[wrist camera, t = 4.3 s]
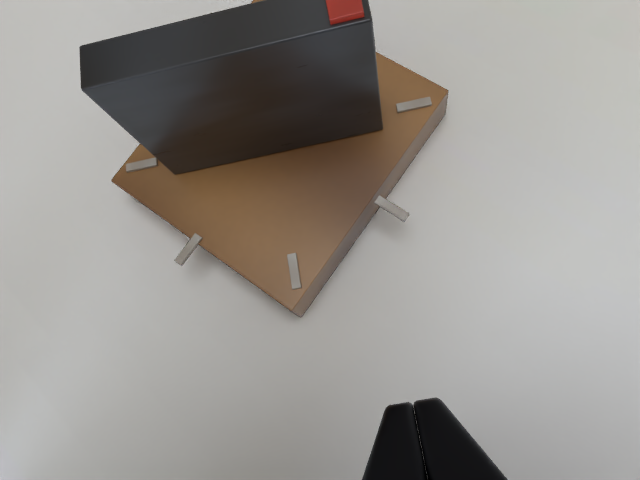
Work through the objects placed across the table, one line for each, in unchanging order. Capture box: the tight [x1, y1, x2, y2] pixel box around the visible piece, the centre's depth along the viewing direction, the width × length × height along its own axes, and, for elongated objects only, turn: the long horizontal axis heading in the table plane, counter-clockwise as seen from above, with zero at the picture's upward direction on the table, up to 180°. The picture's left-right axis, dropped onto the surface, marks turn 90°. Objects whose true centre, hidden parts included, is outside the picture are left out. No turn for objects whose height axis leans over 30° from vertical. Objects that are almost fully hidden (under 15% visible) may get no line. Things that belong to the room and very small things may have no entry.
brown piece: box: [111, 0, 448, 317], centre depth 24 cm, size 13×13×2 cm
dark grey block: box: [80, 0, 383, 175], centre depth 20 cm, size 9×2×7 cm, turn 99°
